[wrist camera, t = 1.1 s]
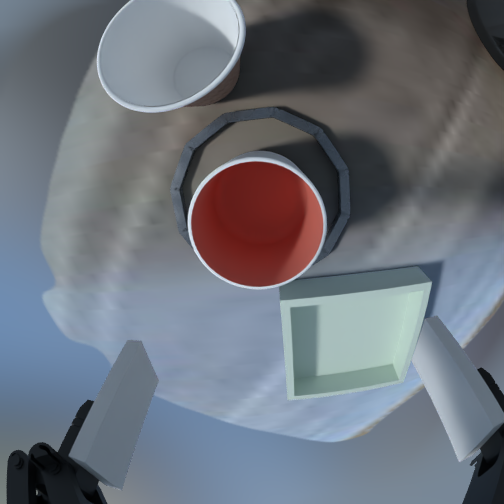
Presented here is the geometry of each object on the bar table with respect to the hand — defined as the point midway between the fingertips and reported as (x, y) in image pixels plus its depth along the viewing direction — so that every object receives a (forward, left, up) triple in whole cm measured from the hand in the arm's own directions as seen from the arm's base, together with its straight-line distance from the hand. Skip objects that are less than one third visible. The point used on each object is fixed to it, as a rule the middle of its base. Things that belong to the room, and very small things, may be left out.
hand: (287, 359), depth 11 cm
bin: (-9, +16, -20) cm, 27 cm away
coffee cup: (+5, -17, -20) cm, 27 cm away
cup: (+1, -3, -20) cm, 20 cm away
